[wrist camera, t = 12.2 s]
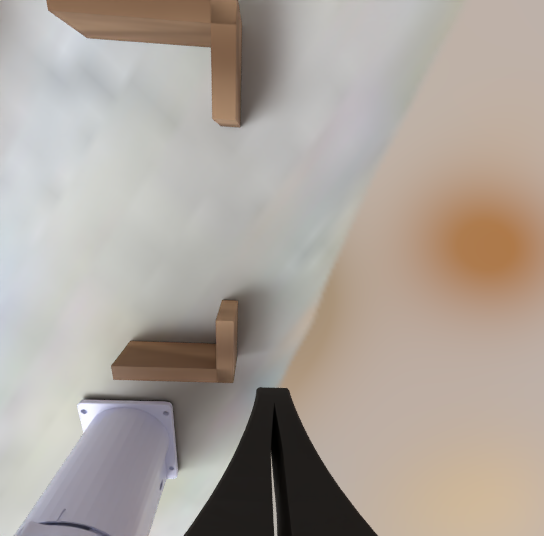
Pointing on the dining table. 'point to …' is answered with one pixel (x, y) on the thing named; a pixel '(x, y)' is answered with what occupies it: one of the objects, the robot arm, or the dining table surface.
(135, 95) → the dining table surface
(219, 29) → the frame
